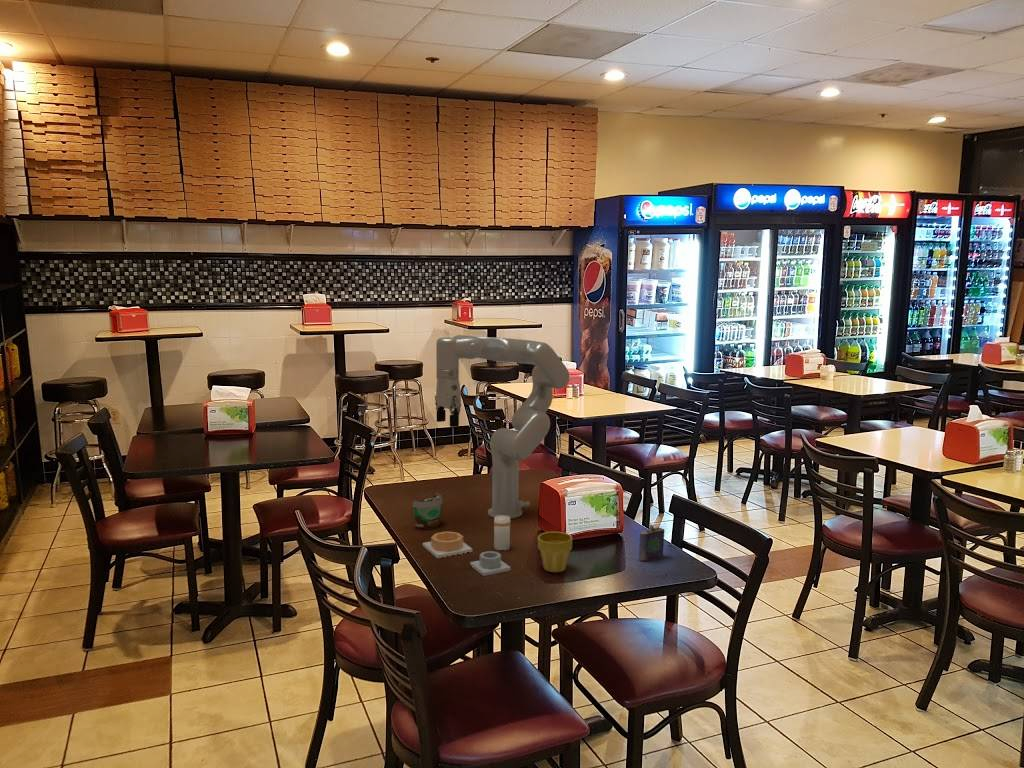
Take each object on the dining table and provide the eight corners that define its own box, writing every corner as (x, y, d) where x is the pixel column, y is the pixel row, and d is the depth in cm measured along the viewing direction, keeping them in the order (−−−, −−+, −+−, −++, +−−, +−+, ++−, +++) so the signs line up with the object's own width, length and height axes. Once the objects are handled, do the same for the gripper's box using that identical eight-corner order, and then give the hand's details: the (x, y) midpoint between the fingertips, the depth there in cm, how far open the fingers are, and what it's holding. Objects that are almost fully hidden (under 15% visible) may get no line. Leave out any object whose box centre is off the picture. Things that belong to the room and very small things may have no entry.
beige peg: (505, 543, 244) (505, 514, 243) (513, 549, 240) (513, 518, 238) (490, 546, 242) (491, 516, 240) (498, 551, 237) (498, 521, 235)
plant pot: (536, 561, 230) (537, 530, 228) (570, 561, 230) (571, 531, 228) (537, 574, 219) (538, 542, 218) (573, 575, 219) (573, 543, 218)
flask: (642, 562, 230) (643, 528, 228) (636, 559, 232) (637, 525, 231) (665, 557, 235) (666, 524, 233) (658, 554, 237) (660, 521, 235)
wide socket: (456, 539, 247) (456, 528, 246) (472, 551, 237) (472, 539, 236) (422, 545, 241) (422, 534, 241) (437, 558, 231) (437, 546, 230)
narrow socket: (496, 560, 230) (496, 547, 229) (510, 570, 222) (510, 557, 222) (470, 565, 226) (470, 552, 225) (483, 576, 218) (483, 563, 217)
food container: (425, 533, 253) (425, 504, 252) (412, 529, 257) (412, 500, 255) (450, 523, 263) (450, 496, 261) (437, 519, 266) (437, 492, 265)
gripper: (469, 376, 248) (469, 427, 250) (445, 370, 262) (445, 418, 265) (449, 378, 244) (449, 429, 246) (426, 371, 258) (426, 420, 261)
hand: (447, 423), depth 256 cm, fingers open, 9 cm apart
